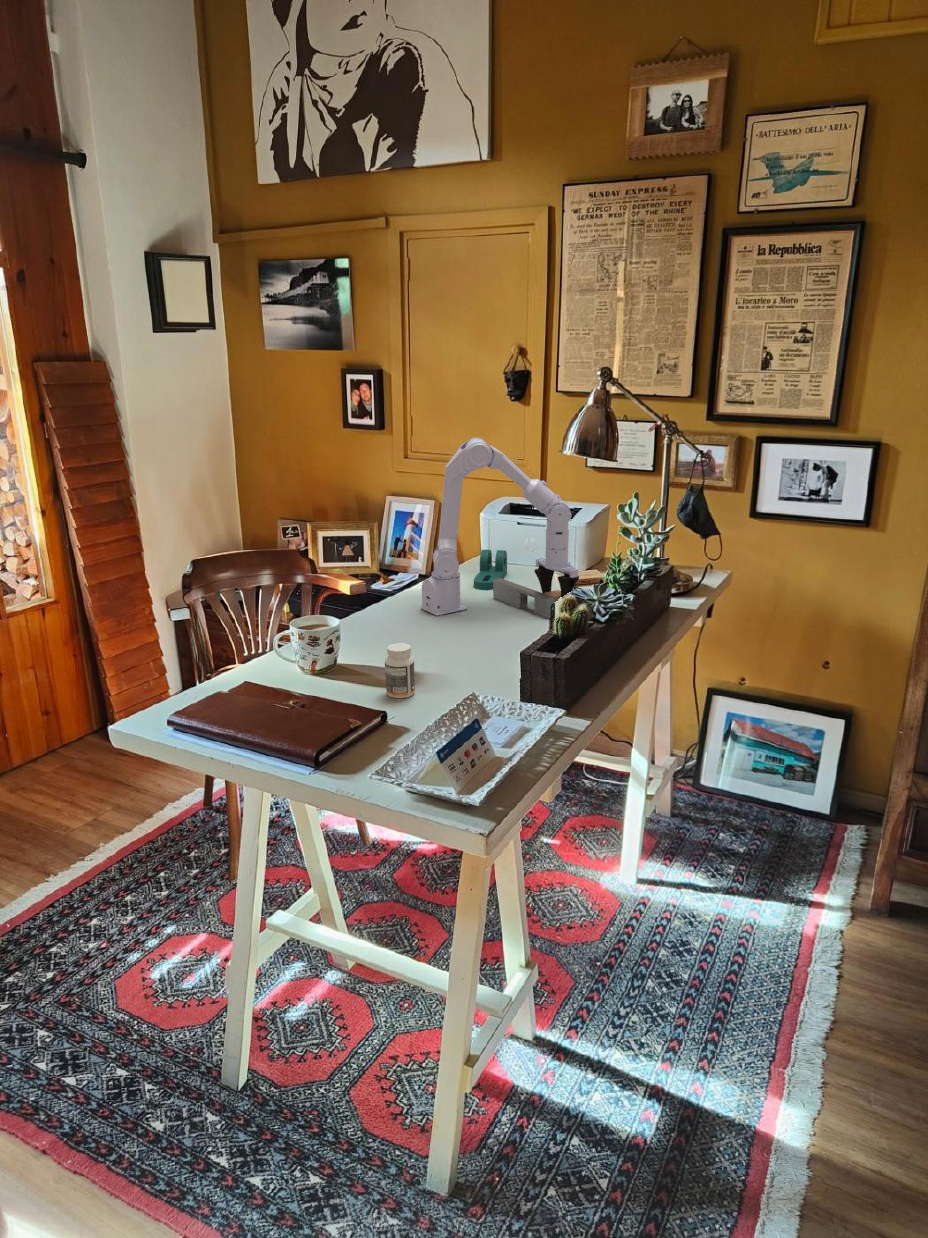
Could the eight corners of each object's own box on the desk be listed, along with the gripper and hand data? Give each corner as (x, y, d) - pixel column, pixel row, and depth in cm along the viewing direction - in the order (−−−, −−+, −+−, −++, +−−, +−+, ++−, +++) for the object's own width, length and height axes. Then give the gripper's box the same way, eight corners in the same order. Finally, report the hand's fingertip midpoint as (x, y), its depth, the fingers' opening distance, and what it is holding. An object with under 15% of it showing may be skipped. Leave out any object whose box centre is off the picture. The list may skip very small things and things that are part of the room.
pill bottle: (400, 686, 180) (398, 639, 177) (421, 692, 177) (419, 645, 174) (380, 694, 176) (378, 647, 173) (401, 701, 173) (399, 654, 170)
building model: (546, 619, 220) (546, 599, 218) (493, 598, 237) (493, 579, 236) (553, 617, 221) (554, 597, 220) (500, 596, 238) (500, 578, 237)
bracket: (484, 573, 262) (484, 547, 260) (507, 574, 261) (507, 548, 259) (471, 590, 246) (471, 562, 243) (495, 591, 244) (495, 563, 242)
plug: (543, 611, 226) (543, 599, 225) (532, 607, 229) (532, 595, 228) (568, 605, 231) (569, 593, 230) (557, 601, 234) (557, 589, 233)
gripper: (588, 550, 222) (586, 602, 227) (550, 539, 234) (549, 589, 238) (566, 554, 219) (565, 607, 223) (529, 543, 230) (529, 593, 234)
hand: (555, 598), depth 230 cm, fingers open, 7 cm apart
